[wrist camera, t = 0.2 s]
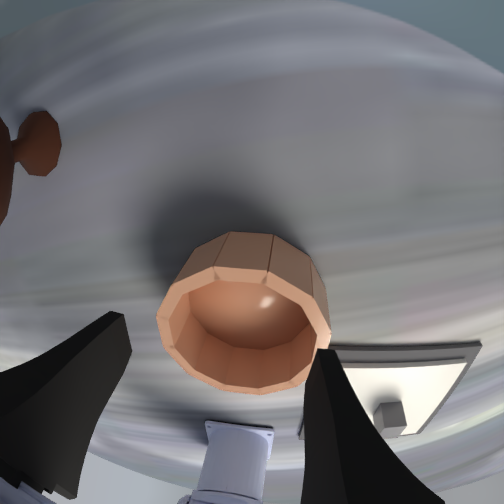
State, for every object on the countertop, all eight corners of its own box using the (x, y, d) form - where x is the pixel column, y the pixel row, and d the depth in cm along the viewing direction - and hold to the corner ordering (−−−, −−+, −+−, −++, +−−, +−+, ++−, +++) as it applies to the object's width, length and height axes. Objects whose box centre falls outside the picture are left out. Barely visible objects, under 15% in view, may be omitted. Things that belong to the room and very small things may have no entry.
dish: (312, 354, 23) (313, 398, 19) (189, 342, 24) (172, 381, 20) (333, 238, 18) (344, 276, 14) (174, 228, 19) (145, 260, 15)
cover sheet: (415, 429, 27) (419, 452, 24) (313, 434, 28) (313, 461, 25) (464, 358, 21) (477, 385, 18) (339, 362, 22) (343, 397, 19)
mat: (419, 430, 28) (420, 433, 27) (298, 436, 30) (298, 439, 29) (480, 342, 21) (482, 345, 20) (324, 345, 22) (325, 349, 22)
